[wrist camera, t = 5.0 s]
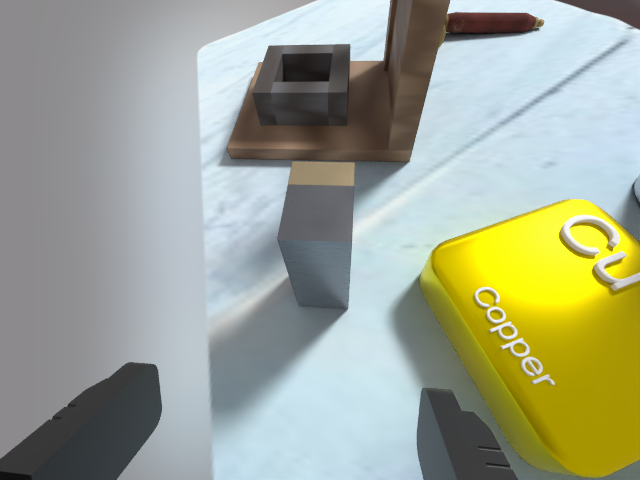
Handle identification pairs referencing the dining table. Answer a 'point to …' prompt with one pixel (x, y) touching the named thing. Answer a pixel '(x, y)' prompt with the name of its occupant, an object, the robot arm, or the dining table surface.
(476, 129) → the dining table surface
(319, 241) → the tan-topped grey pillar
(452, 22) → the gavel
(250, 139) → the wooden peg insertion stand
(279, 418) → the dining table surface
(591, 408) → the element tile
